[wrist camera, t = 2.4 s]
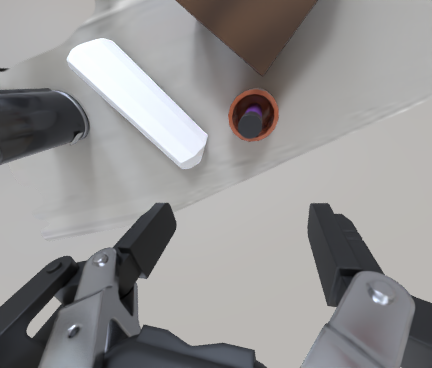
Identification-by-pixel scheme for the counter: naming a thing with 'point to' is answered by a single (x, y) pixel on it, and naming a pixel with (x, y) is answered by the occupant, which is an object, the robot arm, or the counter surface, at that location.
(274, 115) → the pen cup
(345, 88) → the counter surface
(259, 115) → the marker
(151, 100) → the crystal
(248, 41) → the shelf
